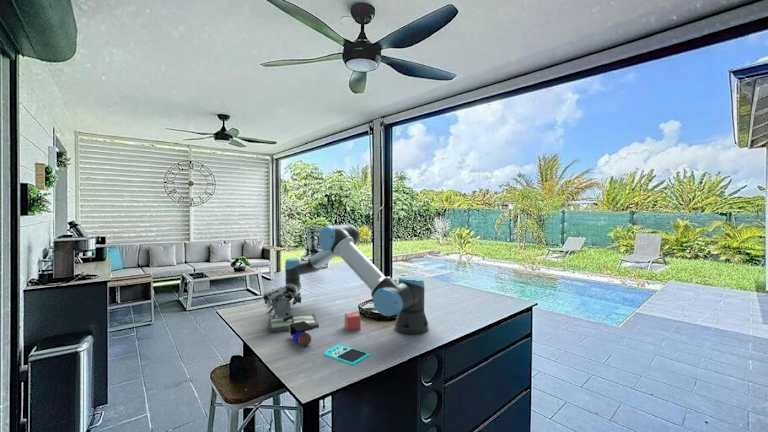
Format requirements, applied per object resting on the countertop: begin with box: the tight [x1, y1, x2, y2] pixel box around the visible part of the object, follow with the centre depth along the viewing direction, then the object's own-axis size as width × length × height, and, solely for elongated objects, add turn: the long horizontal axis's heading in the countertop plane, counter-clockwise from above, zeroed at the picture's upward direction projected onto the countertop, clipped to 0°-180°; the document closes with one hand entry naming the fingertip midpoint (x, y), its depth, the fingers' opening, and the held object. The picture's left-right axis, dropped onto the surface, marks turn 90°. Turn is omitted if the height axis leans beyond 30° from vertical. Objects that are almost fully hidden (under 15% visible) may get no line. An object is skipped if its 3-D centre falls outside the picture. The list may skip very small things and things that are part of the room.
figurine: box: [262, 286, 294, 322], centre depth 160 cm, size 9×12×15 cm
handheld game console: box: [323, 343, 371, 366], centre depth 131 cm, size 10×16×1 cm, turn 55°
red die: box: [344, 311, 362, 331], centre depth 158 cm, size 6×6×6 cm
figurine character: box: [288, 321, 314, 347], centre depth 144 cm, size 7×8×15 cm
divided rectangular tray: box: [267, 313, 320, 334], centre depth 163 cm, size 16×22×2 cm
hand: (279, 305), depth 157 cm, fingers closed on figurine, 10 cm apart
